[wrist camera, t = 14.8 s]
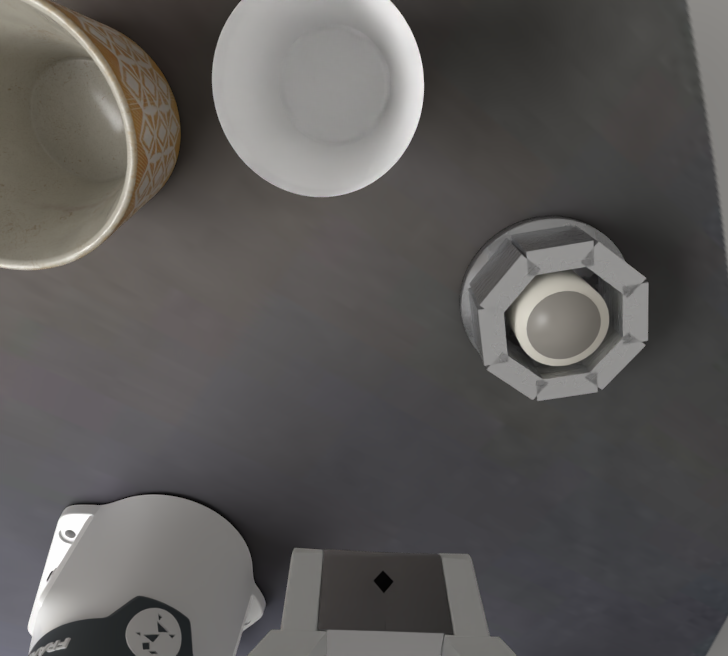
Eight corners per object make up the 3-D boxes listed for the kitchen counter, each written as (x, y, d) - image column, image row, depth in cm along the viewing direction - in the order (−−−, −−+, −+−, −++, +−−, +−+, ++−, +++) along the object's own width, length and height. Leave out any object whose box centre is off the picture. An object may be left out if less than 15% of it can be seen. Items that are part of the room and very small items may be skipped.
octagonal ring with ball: (547, 396, 43) (569, 434, 38) (426, 315, 41) (433, 346, 36) (660, 277, 39) (698, 304, 35) (533, 181, 37) (557, 195, 32)
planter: (241, 134, 36) (194, 154, 26) (107, 261, 39) (22, 319, 30) (80, -50, 32) (-42, -105, 23) (-53, 106, 36) (-210, 116, 26)
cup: (440, 102, 35) (471, 112, 24) (323, 193, 37) (303, 241, 26) (348, -37, 32) (336, -97, 21) (228, 70, 35) (160, 67, 24)
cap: (572, 344, 40) (594, 372, 36) (494, 333, 40) (508, 360, 36) (597, 269, 38) (622, 290, 34) (514, 257, 38) (531, 276, 34)
